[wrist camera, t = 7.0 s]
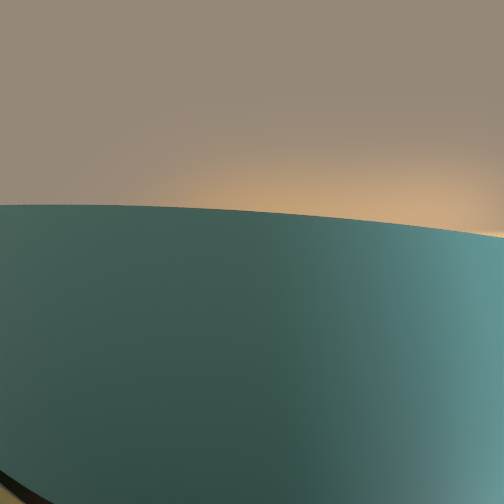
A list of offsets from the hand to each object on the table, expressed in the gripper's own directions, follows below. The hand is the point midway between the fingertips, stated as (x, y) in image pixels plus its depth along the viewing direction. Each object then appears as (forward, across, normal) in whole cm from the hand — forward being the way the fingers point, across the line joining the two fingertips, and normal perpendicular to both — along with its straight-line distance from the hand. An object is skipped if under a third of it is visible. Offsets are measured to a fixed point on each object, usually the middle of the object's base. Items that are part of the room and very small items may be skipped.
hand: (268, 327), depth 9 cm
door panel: (+4, 0, +6) cm, 7 cm away
